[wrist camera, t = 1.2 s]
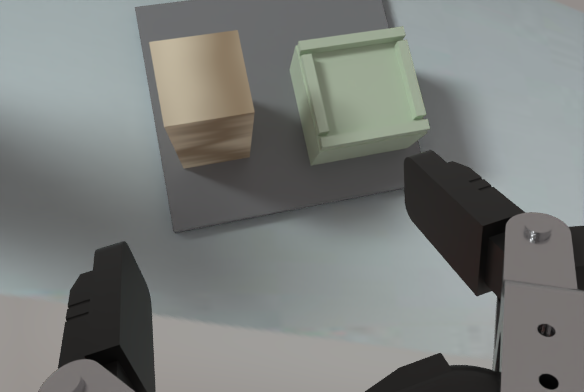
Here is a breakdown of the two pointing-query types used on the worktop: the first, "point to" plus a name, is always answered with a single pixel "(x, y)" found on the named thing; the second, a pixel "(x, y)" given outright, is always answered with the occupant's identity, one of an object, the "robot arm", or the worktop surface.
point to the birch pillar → (204, 97)
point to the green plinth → (357, 95)
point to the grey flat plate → (265, 112)
